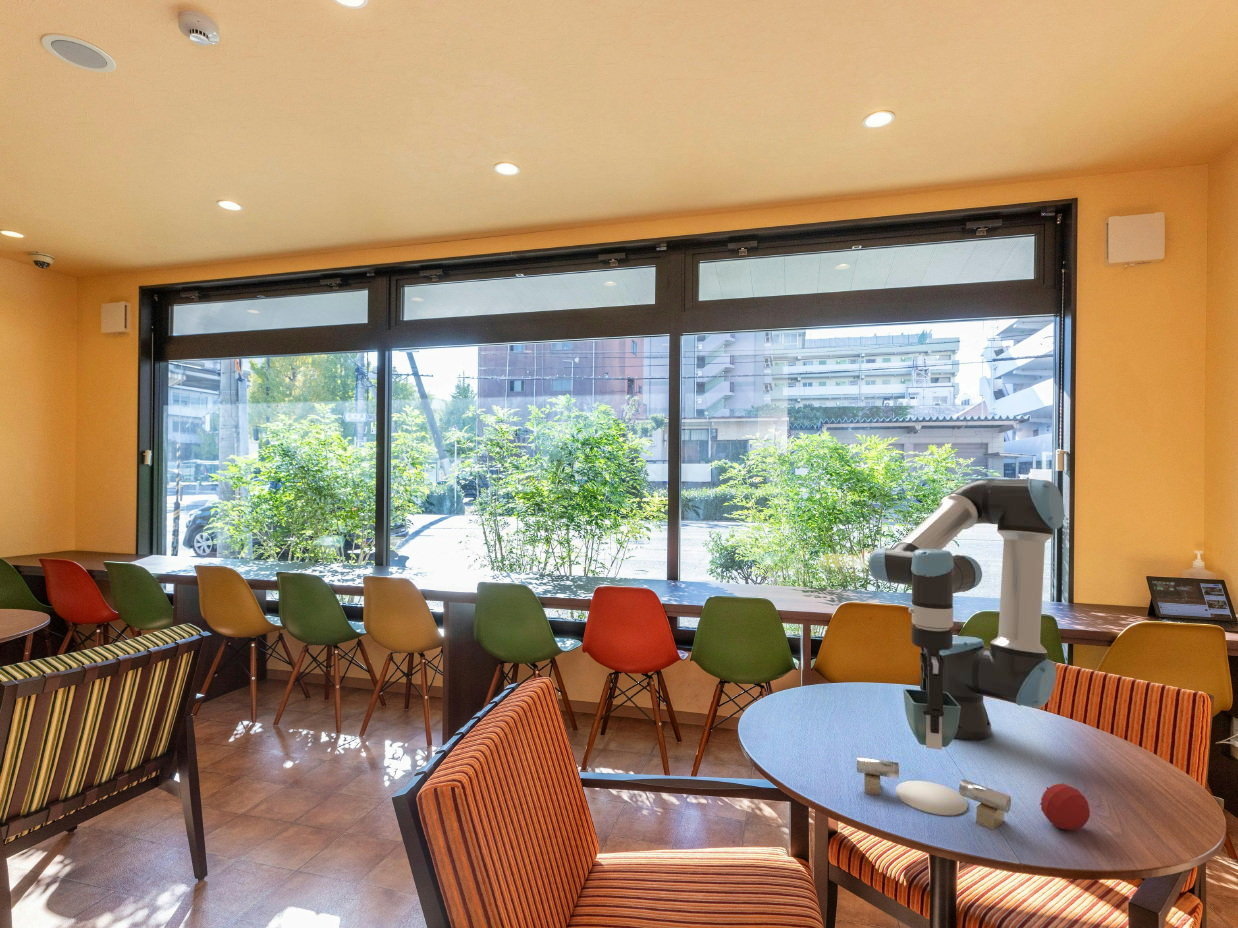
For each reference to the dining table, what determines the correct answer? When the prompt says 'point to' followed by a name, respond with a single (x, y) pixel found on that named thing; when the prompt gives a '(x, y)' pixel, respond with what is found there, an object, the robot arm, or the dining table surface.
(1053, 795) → the tomato
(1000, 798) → the shaft
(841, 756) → the dining table surface
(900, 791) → the seat pad
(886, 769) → the shaft
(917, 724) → the flower pot
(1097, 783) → the dining table surface
